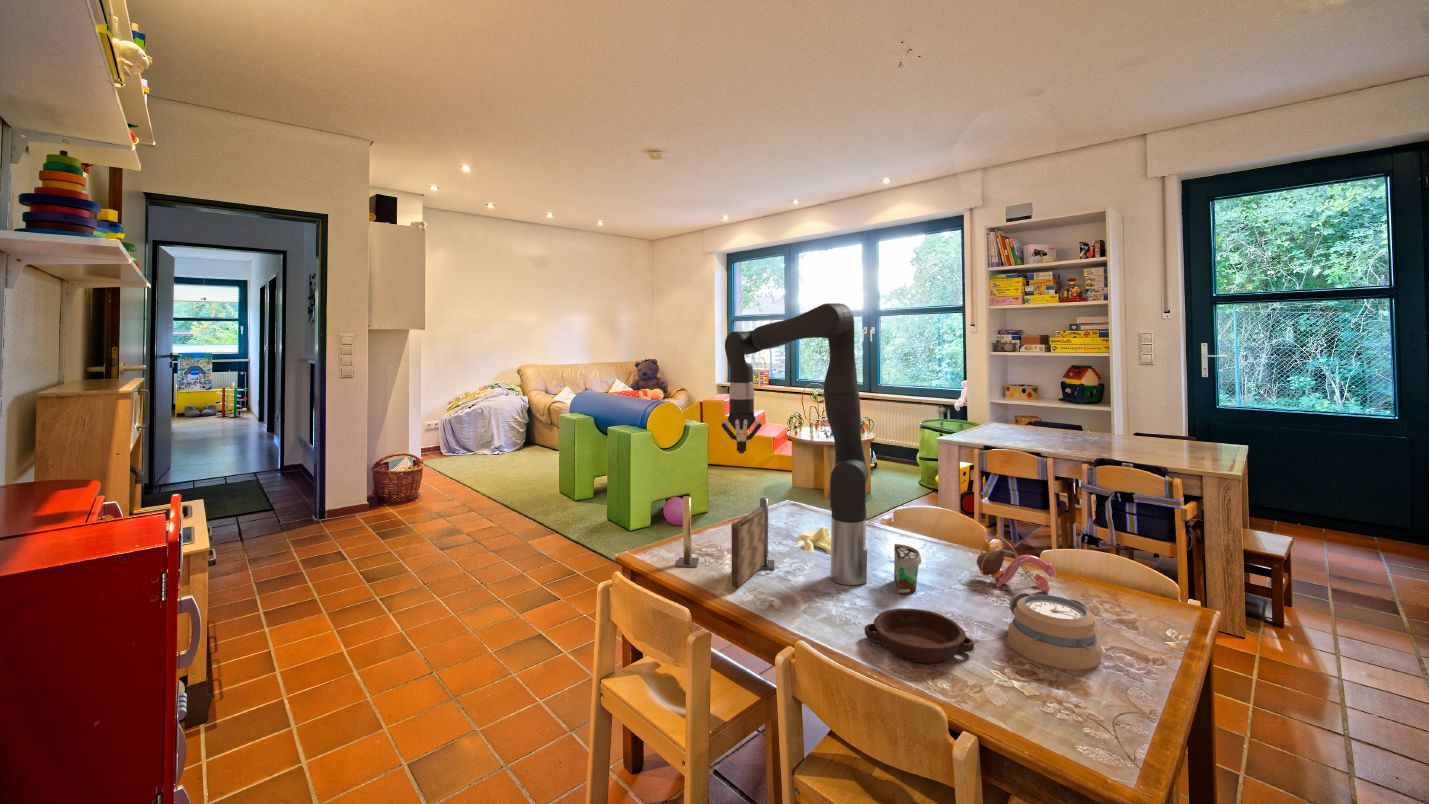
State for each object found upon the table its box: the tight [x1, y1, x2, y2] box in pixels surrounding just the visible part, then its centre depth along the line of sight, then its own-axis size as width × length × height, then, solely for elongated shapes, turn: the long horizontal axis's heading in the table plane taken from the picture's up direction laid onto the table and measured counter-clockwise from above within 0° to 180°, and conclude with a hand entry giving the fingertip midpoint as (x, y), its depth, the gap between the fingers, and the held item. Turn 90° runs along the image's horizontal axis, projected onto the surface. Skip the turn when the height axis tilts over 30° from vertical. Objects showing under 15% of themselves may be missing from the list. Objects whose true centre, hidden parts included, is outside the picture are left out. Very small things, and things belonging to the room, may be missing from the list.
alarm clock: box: [1007, 591, 1103, 671], centre depth 124 cm, size 17×9×23 cm
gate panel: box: [730, 506, 764, 589], centre depth 158 cm, size 18×2×17 cm, turn 152°
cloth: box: [795, 526, 831, 555], centre depth 185 cm, size 22×19×6 cm
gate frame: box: [675, 495, 775, 571], centre depth 168 cm, size 28×6×20 cm, turn 85°
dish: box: [864, 607, 975, 664], centre depth 122 cm, size 17×22×5 cm
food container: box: [893, 543, 922, 596], centre depth 151 cm, size 12×6×10 cm, turn 168°
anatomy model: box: [976, 534, 1056, 594], centre depth 153 cm, size 11×15×17 cm
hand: (741, 452), depth 178 cm, fingers closed
